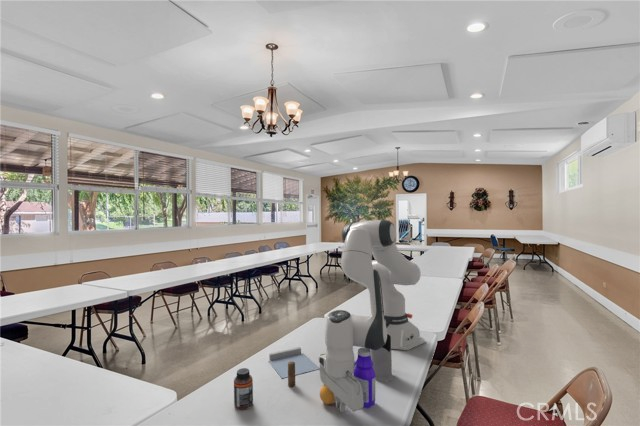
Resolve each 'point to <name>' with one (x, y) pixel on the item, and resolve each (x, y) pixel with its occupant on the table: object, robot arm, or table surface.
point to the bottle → (365, 376)
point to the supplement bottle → (243, 389)
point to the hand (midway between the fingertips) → (340, 409)
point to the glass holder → (382, 362)
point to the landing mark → (301, 365)
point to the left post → (291, 374)
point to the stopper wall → (284, 353)
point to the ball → (327, 395)
